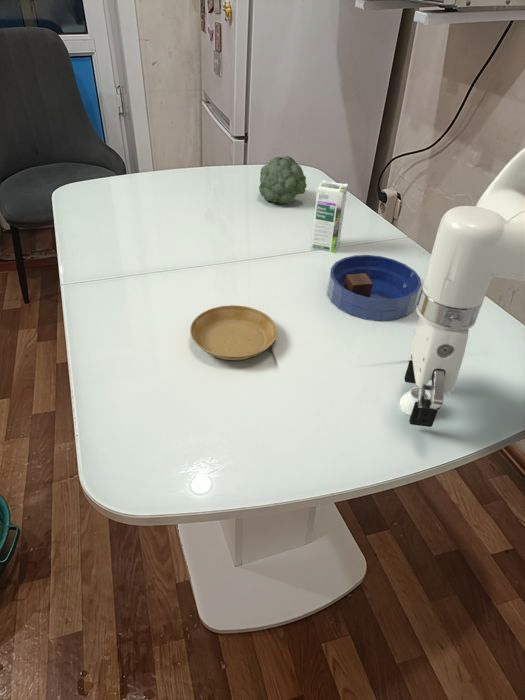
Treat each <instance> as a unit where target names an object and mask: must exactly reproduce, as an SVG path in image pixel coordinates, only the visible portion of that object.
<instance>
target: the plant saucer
mask: <svg viewBox="0 0 525 700" xmlns="http://www.w3.org/2000/svg"><path fill="white" fill-rule="evenodd" d="M189 334H190V337H191V339H192V341H193V342H194V343H195V345H196V346H198V347H199V348H200V349H201V350H202V351H204V352H205V353H206V354H209V355H210V356H213V357H215V358H218V359H221V360H225V361H226V360H227V361H241V360H247V359H250V358H253V357H256V356H258V355H260V354H262V353H263V352H264V351H266V350H267V349H269V348H270V347H271V346H272V345H273V343H274V342H275V340H276V339H277V336H278V328H277V325H276V322H275V321H274V320H273V319H272V318H271V317H270V316H269V315H267V313H265V312H262V311H261V310H258V309H256V308H253V307H250V306H246V305H234V304H233V305H220V306H216V307H211V308H209V309H207V310H204V311H203V312H201V313H200V314H198V315H197V316H195V318H194V319H193V321H192V322H191V324H190V327H189Z"/></svg>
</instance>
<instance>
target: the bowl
mask: <svg viewBox="0 0 525 700" xmlns="http://www.w3.org/2000/svg"><path fill="white" fill-rule="evenodd" d="M361 273H366V275H367V276H368V277H369V279H370V280H371V282H372V283H373V286H372V291H371V296H370V298H369V297H365V296H362V295H358V294H355V293H353V292H351V291H349V290H347V289H345V288H344V285H345V279H346V275H347V274H361ZM422 286H423V283H422V280H421V277H420V275H418V273H417V272H416V271H415V270H414V269H413V268H412V267H410V266H408V265H407V264H405V263H403V262H402V261H398V260H396V259H393V258H389V257H386V256H382V255H374V254H373V255H372V254H357V255H351V256H346V257H343V258H341V259H340V260H337V261H335V263H333V265H332V266H331V268H330V271H329V279H328V285H327V296H328V298H329V301H330V302H331V303H332V304H333V305H334V306H335V307H336V308H338V310H340V311H342V312H344V313H346V314H348V315H350V316H353V317H356V318H358V319H359V318H360V319H363V320H368V321H376V322H383V321H384V322H385V321H395V320H398V319H401V318H405V317H407V316H408V315H409V314H411V313H413V312H414V310H415V308H416V307H417V304H418V301H419V297H420V293H421V290H422Z"/></svg>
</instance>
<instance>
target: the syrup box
mask: <svg viewBox="0 0 525 700" xmlns="http://www.w3.org/2000/svg"><path fill="white" fill-rule="evenodd" d="M348 186H349V183H340V182H335V181H328V180H322V181H321V183H320V184H319V185H318V187H317V188H316V196H315V207H314V216H313V225H312V226H313V228H312V236H311V242H310V244H311V245H310V251H322V252H327V253H333V254H335V253H336V252H337V250H338V248H339V246H340V243H341V242H340V241H341V235H342V228H343V222H344V214H345V207H346V201H347V194H348V188H349V187H348Z"/></svg>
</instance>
